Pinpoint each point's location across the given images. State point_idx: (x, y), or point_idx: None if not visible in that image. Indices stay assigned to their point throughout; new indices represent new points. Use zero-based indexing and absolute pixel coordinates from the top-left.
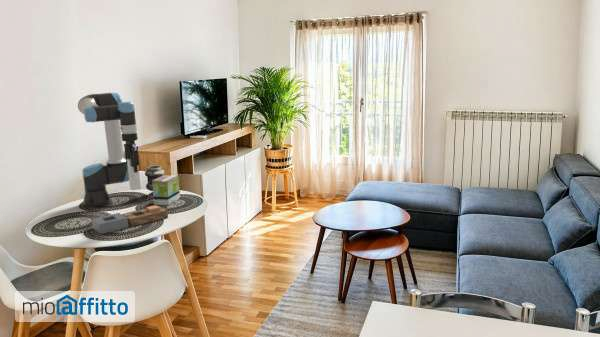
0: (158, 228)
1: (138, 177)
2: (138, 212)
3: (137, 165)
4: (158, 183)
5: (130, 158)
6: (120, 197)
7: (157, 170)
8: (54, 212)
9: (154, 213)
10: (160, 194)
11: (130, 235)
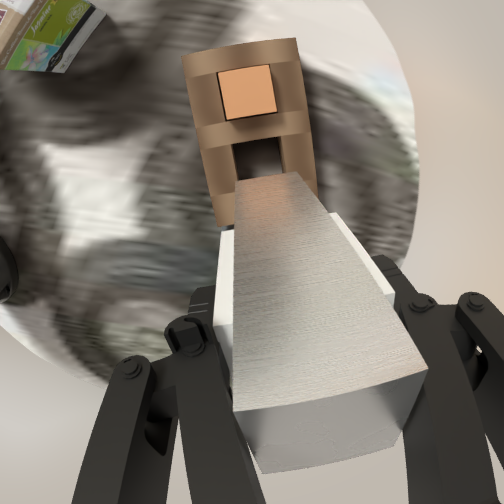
0: (395, 123)
1: (337, 217)
2: (233, 158)
3: (425, 300)
4: (22, 34)
5: (262, 451)
6: None
7: None
8: (47, 355)
9: (305, 100)
10: (60, 36)
11: (395, 221)
